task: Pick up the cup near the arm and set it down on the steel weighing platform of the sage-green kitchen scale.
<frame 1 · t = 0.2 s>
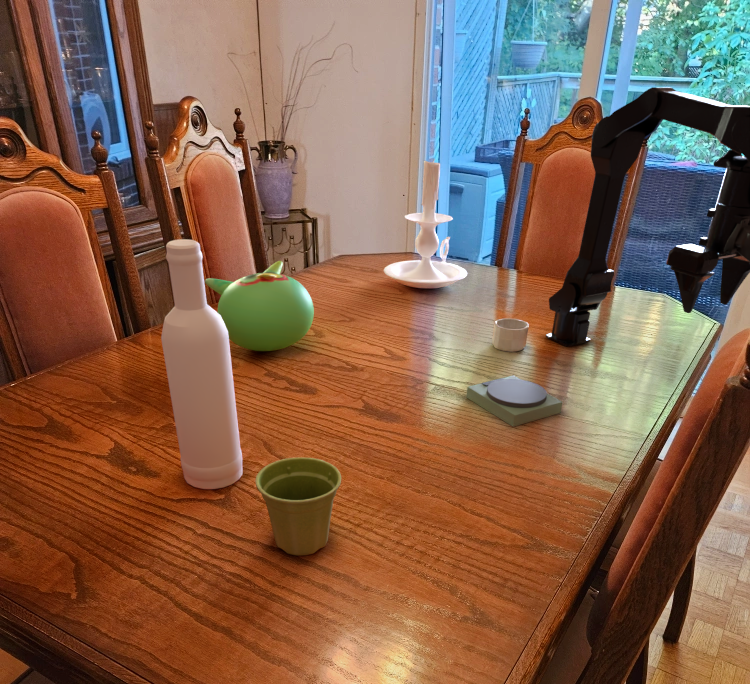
hand: (705, 308, 107), 14 cm above the table, tool pointing down, fingers open, 9 cm apart
scale: (512, 405, 109), on the table
green rounded piece: (267, 347, 129), on the table
plant pot: (301, 541, 78), on the table
cup: (508, 346, 132), on the table
candlestick: (427, 282, 168), on the table
bottle: (214, 475, 90), on the table
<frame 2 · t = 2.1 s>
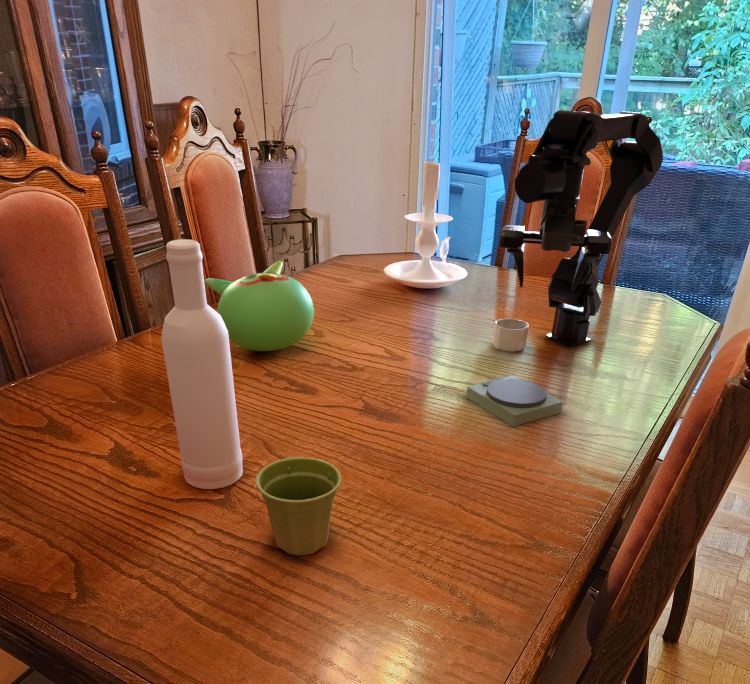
hand: (546, 288, 122), 12 cm above the table, tool pointing down, fingers open, 9 cm apart
nothing on the table moved.
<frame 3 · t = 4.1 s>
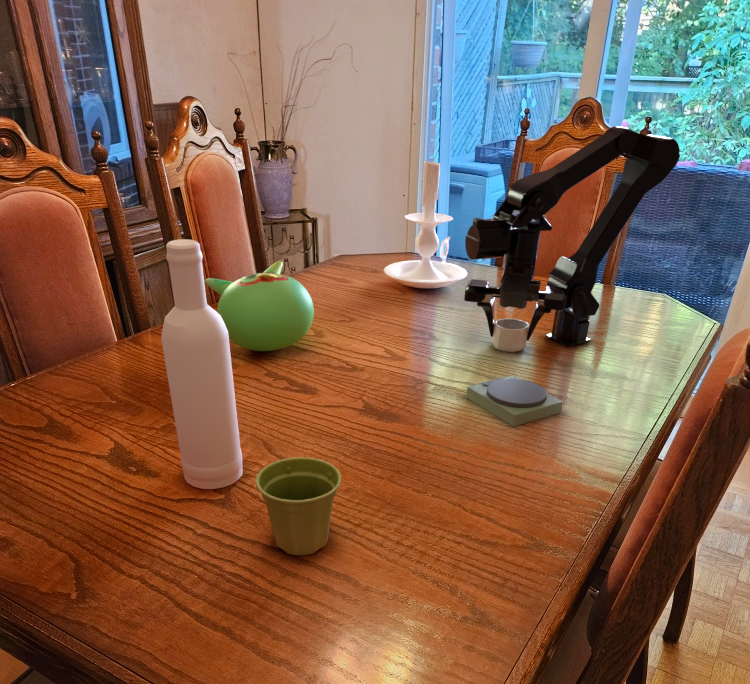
hand: (509, 338, 131), 2 cm above the table, tool pointing down, fingers closed on cup, 7 cm apart
cup: (508, 346, 132), on the table, touching gripper
everything else where it was.
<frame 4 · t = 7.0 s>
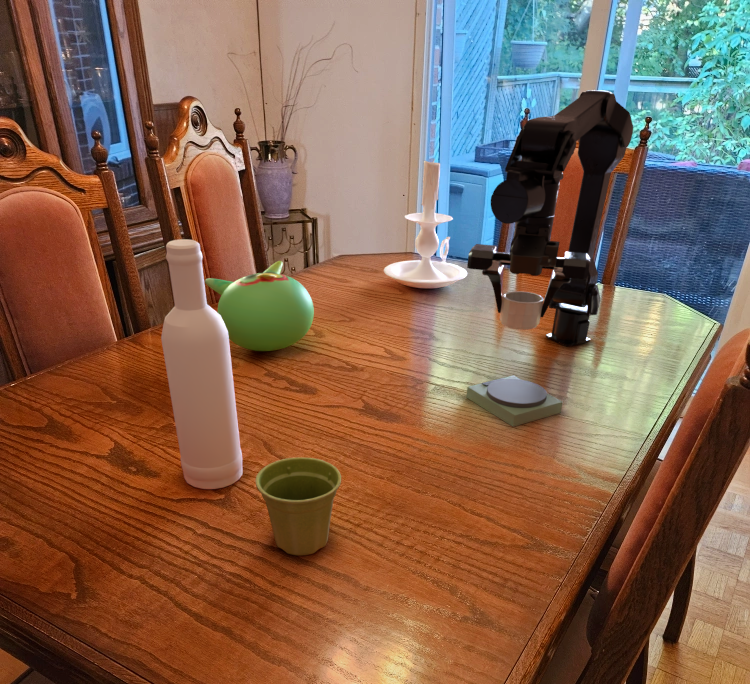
hand: (520, 314, 111), 12 cm above the table, tool pointing down, fingers closed on cup, 7 cm apart
cup: (519, 323, 112), point 10 cm above the table, touching gripper
everything else where it was.
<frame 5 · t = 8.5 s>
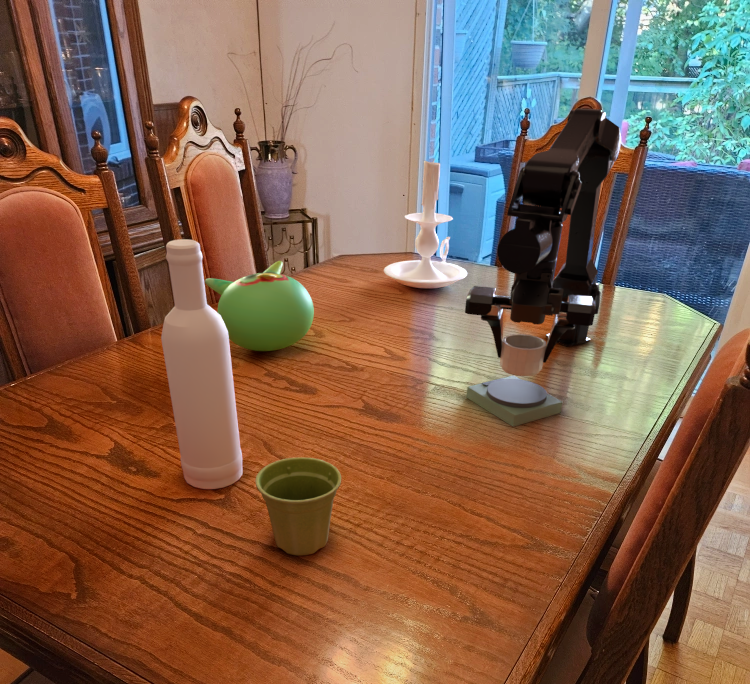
hand: (521, 359, 105), 8 cm above the table, tool pointing down, fingers closed on cup, 7 cm apart
cup: (520, 368, 105), point 7 cm above the table, touching gripper
everything else where it was.
when the fingers open (4 cm above the table, at t = 10.0 s): cup stays where it is, resting on scale.
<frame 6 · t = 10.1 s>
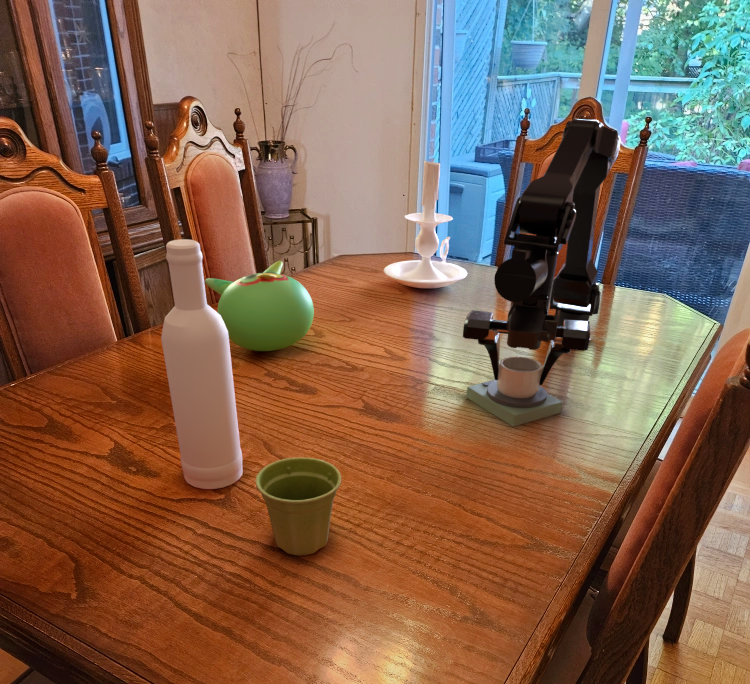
hand: (518, 381, 107), 4 cm above the table, tool pointing down, fingers open, 7 cm apart
cup: (517, 390, 108), point 3 cm above the table, touching scale
everything else where it was.
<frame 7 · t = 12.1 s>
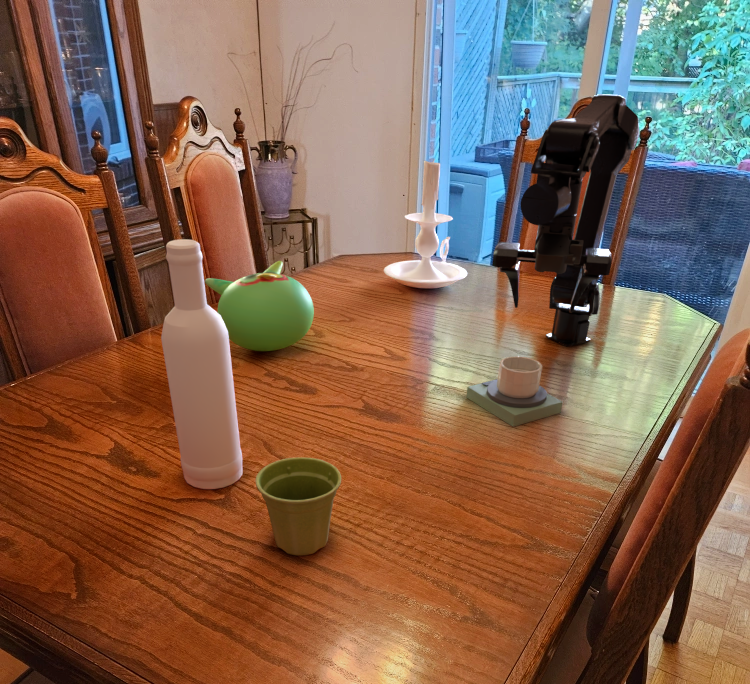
hand: (543, 309, 114), 12 cm above the table, tool pointing down, fingers open, 9 cm apart
nothing on the table moved.
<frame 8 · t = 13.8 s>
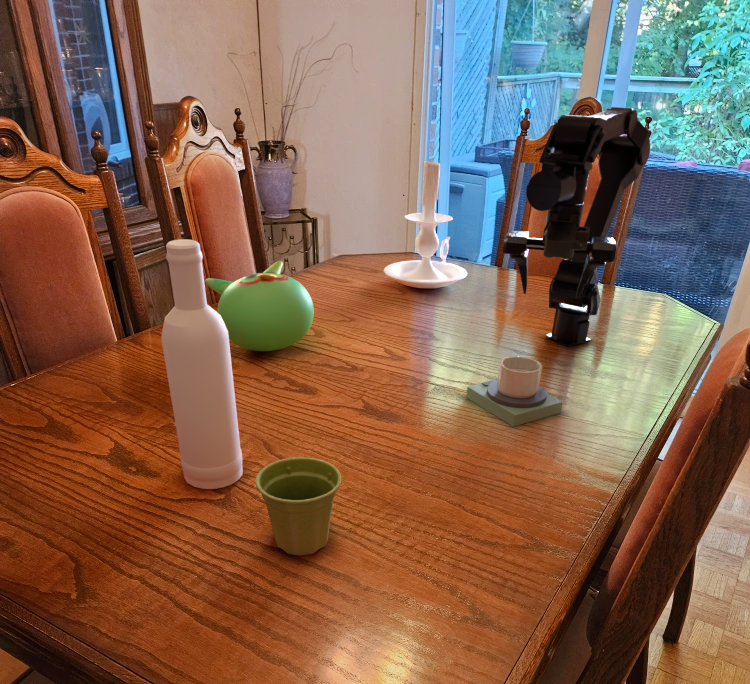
hand: (550, 295, 120), 12 cm above the table, tool pointing down, fingers open, 9 cm apart
nothing on the table moved.
at the end: cup 0.1 cm off-centre on the scale, point 2.8 cm above the scale's base; cup tilted 0°; the gripper is holding nothing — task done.
